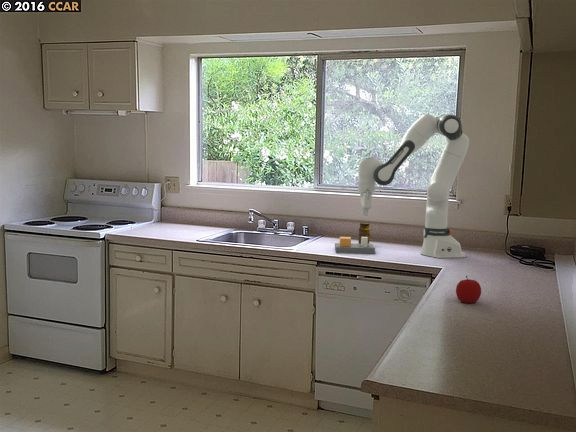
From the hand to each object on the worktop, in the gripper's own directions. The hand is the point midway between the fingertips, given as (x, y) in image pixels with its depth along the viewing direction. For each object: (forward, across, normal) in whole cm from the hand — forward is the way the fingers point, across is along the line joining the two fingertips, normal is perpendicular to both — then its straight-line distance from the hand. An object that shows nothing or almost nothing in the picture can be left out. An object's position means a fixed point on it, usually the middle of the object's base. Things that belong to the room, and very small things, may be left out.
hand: (365, 215), depth 320 cm
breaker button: (+17, 0, 0) cm, 17 cm away
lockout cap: (+16, 0, +10) cm, 19 cm away
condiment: (+19, +19, -1) cm, 27 cm away
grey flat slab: (+19, 0, +5) cm, 20 cm away
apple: (+19, -92, -30) cm, 99 cm away
